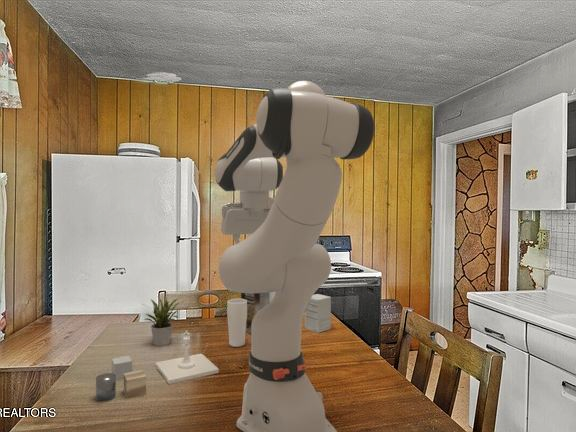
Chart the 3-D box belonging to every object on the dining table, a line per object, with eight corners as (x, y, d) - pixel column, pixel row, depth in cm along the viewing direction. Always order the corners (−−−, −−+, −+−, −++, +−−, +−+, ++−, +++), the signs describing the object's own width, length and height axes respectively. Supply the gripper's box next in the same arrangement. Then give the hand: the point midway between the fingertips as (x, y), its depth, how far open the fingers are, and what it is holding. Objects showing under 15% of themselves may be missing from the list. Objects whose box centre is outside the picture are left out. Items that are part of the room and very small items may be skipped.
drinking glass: (243, 349, 130) (243, 303, 130) (224, 347, 131) (224, 302, 131) (249, 342, 136) (249, 299, 136) (230, 340, 138) (231, 298, 138)
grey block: (132, 377, 108) (132, 361, 108) (114, 381, 106) (114, 364, 106) (129, 371, 112) (129, 355, 112) (111, 374, 109) (111, 358, 109)
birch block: (146, 394, 98) (146, 376, 98) (126, 398, 96) (126, 380, 96) (142, 387, 102) (142, 369, 102) (123, 391, 100) (123, 373, 100)
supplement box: (317, 325, 157) (317, 293, 157) (331, 329, 152) (331, 296, 152) (304, 328, 152) (304, 296, 152) (318, 333, 147) (318, 299, 147)
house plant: (194, 337, 141) (194, 292, 140) (176, 351, 127) (176, 301, 127) (157, 335, 143) (157, 290, 143) (135, 348, 129) (135, 299, 129)
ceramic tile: (218, 372, 111) (218, 369, 111) (168, 384, 104) (168, 380, 104) (201, 356, 123) (201, 353, 123) (155, 365, 116) (155, 362, 115)
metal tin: (117, 398, 96) (117, 378, 96) (97, 403, 93) (97, 382, 93) (114, 391, 100) (114, 371, 99) (94, 395, 97) (94, 375, 97)
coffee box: (240, 331, 149) (240, 288, 148) (251, 326, 154) (251, 285, 154) (258, 335, 143) (259, 291, 143) (269, 331, 149) (269, 288, 148)
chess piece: (182, 361, 116) (182, 327, 116) (198, 363, 115) (198, 329, 115) (174, 368, 112) (174, 333, 111) (190, 369, 111) (190, 334, 110)
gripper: (226, 202, 110) (226, 252, 110) (288, 203, 121) (288, 248, 121) (217, 202, 115) (217, 249, 116) (277, 203, 126) (277, 246, 127)
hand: (254, 249), depth 119 cm, fingers open, 8 cm apart
